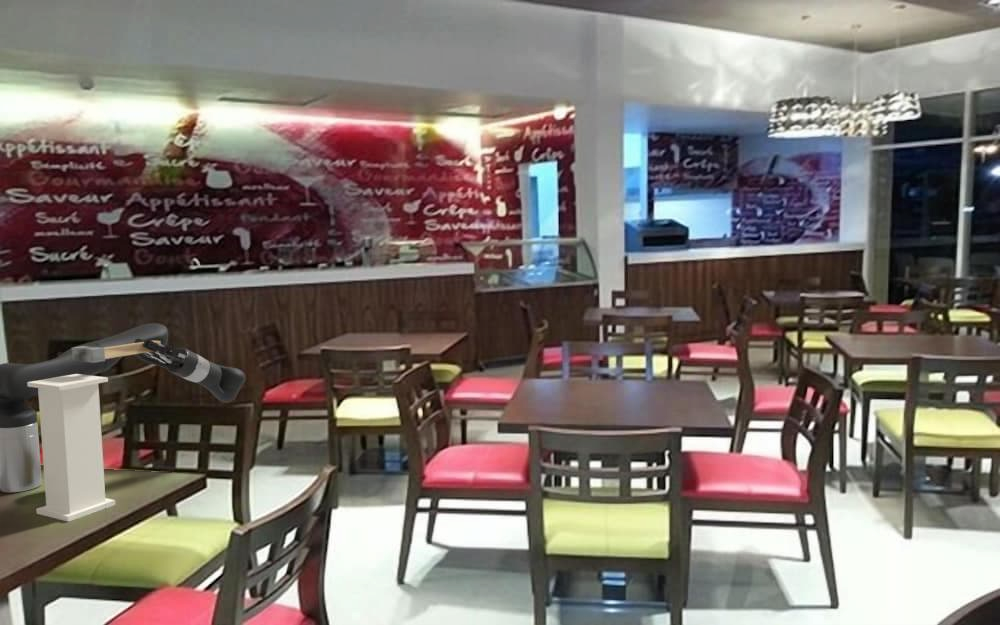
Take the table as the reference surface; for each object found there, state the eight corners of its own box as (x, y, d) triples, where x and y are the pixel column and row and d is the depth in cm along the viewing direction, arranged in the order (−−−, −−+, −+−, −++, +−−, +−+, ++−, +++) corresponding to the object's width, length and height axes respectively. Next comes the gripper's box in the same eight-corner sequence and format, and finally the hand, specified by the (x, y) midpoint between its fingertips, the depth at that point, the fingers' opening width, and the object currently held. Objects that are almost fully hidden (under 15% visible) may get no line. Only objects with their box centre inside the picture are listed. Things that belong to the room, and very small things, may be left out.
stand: (36, 513, 174) (27, 382, 171) (84, 497, 185) (76, 373, 182) (68, 521, 169) (59, 386, 166) (115, 504, 180) (107, 377, 177)
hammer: (72, 360, 179) (71, 347, 178) (147, 348, 198) (146, 336, 197) (93, 362, 175) (92, 349, 175) (167, 350, 194) (166, 338, 194)
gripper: (176, 351, 210) (127, 327, 195) (211, 354, 203) (164, 330, 189) (166, 375, 207) (116, 353, 193) (201, 379, 201) (152, 357, 187)
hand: (140, 342), depth 191 cm, fingers closed on hammer, 3 cm apart
